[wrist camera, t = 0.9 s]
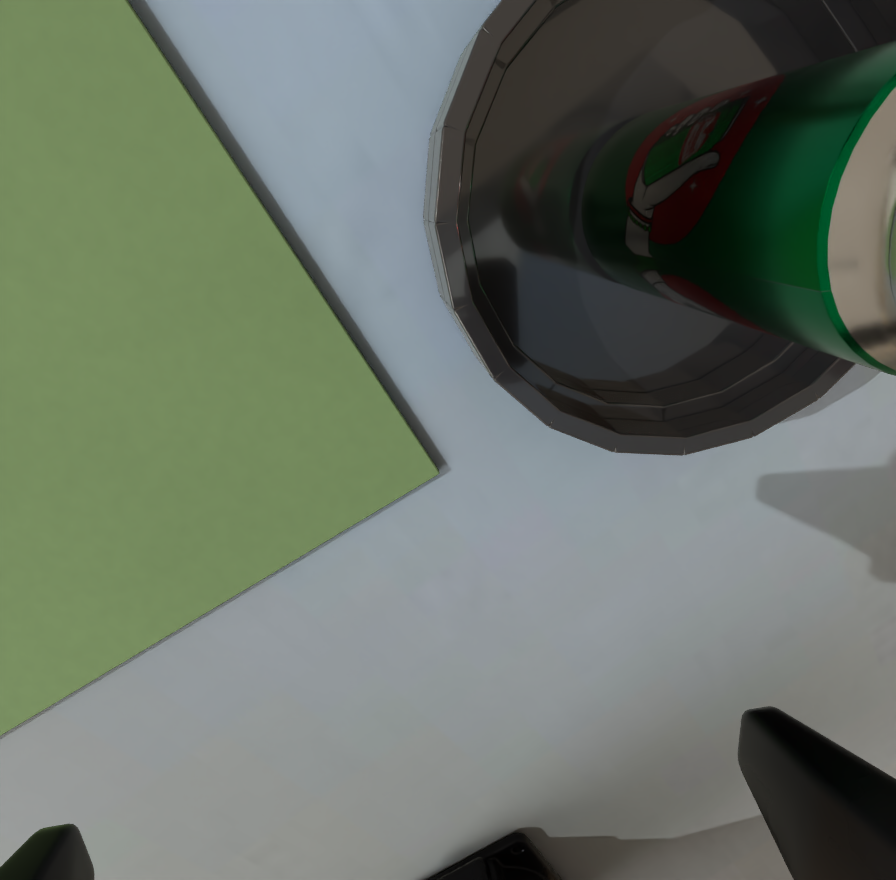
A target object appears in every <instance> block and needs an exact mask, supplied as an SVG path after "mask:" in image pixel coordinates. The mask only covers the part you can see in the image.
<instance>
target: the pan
mask: <svg viewBox="0 0 896 880" xmlns="http://www.w3.org/2000/svg"><path fill="white" fill-rule="evenodd" d="M892 41H896V0H501V2H500V3H499V4H498V5H497V7H496V8H495V9H494V10H493V12H492V13H491V14H490V16H489V17H488V18H487V19H486V21H485V22H484V23H483V24H482V26H481V27H480V29H479V30H478V31H477V33H476V34H475V35H474V37H473V38H472V39H471V41H470V42H469V44H468V45H467V46H466V48H465V49H464V51H463V53H462V54H461V56H460V58H459V61H458V63H457V66H456V69H455V71H454V74H453V76H452V79H451V81H450V84H449V87H448V89H447V92H446V94H445V97H444V100H443V102H442V105H441V107H440V110H439V113H438V115H437V118H436V120H435V123H434V125H433V128H432V131H431V133H430V138H429V148H428V161H427V174H426V186H425V199H424V211H423V219H424V227H425V231H426V236H427V241H428V245H429V250H430V254H431V259H432V263H433V268H434V272H435V277H436V281H437V286H438V291H439V293H440V297H441V299H442V300H443V302H444V304H445V305H446V307H447V309H448V311H449V312H450V314H451V316H452V317H453V319H454V321H455V322H456V324H457V326H458V328H459V329H460V331H461V333H462V334H463V336H464V338H465V340H466V341H467V343H468V345H469V346H470V348H471V350H472V352H473V353H474V355H475V356H476V358H477V359H478V360H479V362H480V363H481V364H482V365H483V367H484V368H485V369H486V371H487V372H488V373H489V375H490V376H491V377H492V378H493V380H494V381H495V382H496V383H497V384H499V385H500V386H501V387H502V388H503V389H504V390H506V391H507V392H508V393H509V394H510V395H511V396H512V397H514V398H515V399H516V400H517V401H518V402H519V403H521V404H522V405H523V406H524V407H525V408H526V409H528V410H529V411H530V412H531V413H532V414H533V415H535V416H536V417H537V418H538V419H539V420H540V421H542V422H543V423H544V424H545V425H546V426H549V427H550V428H552V429H554V430H557V431H559V432H562V433H565V434H567V435H570V436H572V437H575V438H577V439H580V440H583V441H585V442H588V443H590V444H593V445H595V446H598V447H601V448H603V449H606V450H608V451H611V452H615V453H637V454H660V455H687V454H691V453H695V452H699V451H703V450H706V449H710V448H714V447H718V446H722V445H726V444H729V443H733V442H737V441H741V440H745V439H749V438H752V437H753V436H756V435H758V434H760V433H762V432H763V431H765V430H767V429H769V428H770V427H772V426H774V425H775V424H777V423H779V422H781V421H782V420H784V419H786V418H788V417H789V416H791V415H793V414H795V413H796V412H798V411H800V410H801V409H803V408H805V407H807V406H808V405H810V404H812V403H814V402H815V401H817V400H818V398H821V397H822V396H823V395H824V394H825V393H826V392H827V391H828V390H829V389H830V388H831V387H832V386H833V385H834V384H835V383H836V382H838V381H839V380H840V379H841V378H842V377H843V376H844V375H845V374H846V373H847V372H848V371H849V370H850V369H851V368H852V367H853V366H854V365H855V364H856V363H854V362H851V361H848V360H845V359H842V358H839V357H836V356H833V355H830V354H827V353H824V352H821V351H818V350H815V349H812V348H809V347H806V346H803V345H800V344H797V343H794V342H791V341H788V340H785V339H782V338H779V337H776V336H773V335H770V334H767V333H764V332H761V331H758V330H755V329H752V328H749V327H746V326H743V325H740V324H737V323H734V322H731V321H728V320H725V319H722V318H719V317H716V316H713V315H710V314H707V313H704V312H701V311H698V310H695V309H692V308H689V307H686V306H683V305H680V304H677V303H674V302H671V301H668V300H665V299H662V298H659V297H656V296H653V295H650V294H647V293H644V292H641V291H638V290H635V289H632V288H629V287H627V286H625V285H623V284H621V283H619V282H617V281H616V280H614V279H613V278H612V277H610V276H609V275H608V274H607V273H606V272H605V271H604V270H603V269H602V268H601V267H600V266H599V265H598V263H597V262H596V260H595V259H594V257H593V256H592V254H591V252H590V249H589V247H588V245H587V242H586V239H585V236H584V232H583V226H582V218H581V207H582V197H583V190H584V186H585V182H586V179H587V176H588V173H589V171H590V168H591V166H592V164H593V162H594V160H595V158H596V157H597V155H598V153H599V152H600V150H601V149H602V147H603V146H604V145H605V144H606V142H607V141H608V140H609V139H610V138H611V137H612V135H613V134H615V133H616V132H617V131H618V130H619V129H620V128H622V127H623V126H624V125H625V124H627V123H628V122H630V121H632V120H633V119H635V118H636V117H638V116H641V115H643V114H646V113H648V112H650V111H654V110H657V109H661V108H664V107H668V106H671V105H675V104H678V103H681V102H685V101H688V100H692V99H695V98H699V97H702V96H706V95H709V94H713V93H716V92H719V91H723V90H726V89H730V88H733V87H737V86H740V85H744V84H747V83H750V82H754V81H757V80H761V79H764V78H768V77H771V76H775V75H778V74H782V73H785V72H788V71H792V70H795V69H799V68H802V67H806V66H809V65H813V64H816V63H820V62H823V61H826V60H830V59H833V58H837V57H840V56H844V55H847V54H851V53H854V52H858V51H861V50H864V49H868V48H871V47H875V46H878V45H882V44H885V43H889V42H892Z"/></svg>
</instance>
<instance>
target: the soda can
mask: <svg viewBox="0 0 896 880" xmlns="http://www.w3.org/2000/svg"><path fill="white" fill-rule="evenodd" d="M581 218H582V226H583V232H584V236H585V239H586V242H587V245H588V247H589V249H590V252H591V254H592V256H593V257H594V259H595V260H596V262H597V263H598V265H599V266H600V267H601V268H602V269H603V270H604V271H605V272H606V273H607V274H608V275H609V276H610V277H612V278H613V279H614V280H616V281H617V282H619V283H621V284H623V285H625V286H627V287H629V288H632V289H635V290H638V291H641V292H644V293H647V294H650V295H653V296H656V297H659V298H662V299H665V300H668V301H671V302H674V303H677V304H680V305H683V306H686V307H689V308H692V309H695V310H698V311H701V312H704V313H707V314H710V315H713V316H716V317H719V318H722V319H725V320H728V321H731V322H734V323H737V324H740V325H743V326H746V327H749V328H752V329H755V330H758V331H761V332H764V333H767V334H770V335H773V336H776V337H779V338H782V339H785V340H788V341H791V342H794V343H797V344H800V345H803V346H806V347H809V348H812V349H815V350H818V351H821V352H824V353H827V354H830V355H833V356H836V357H839V358H842V359H845V360H848V361H851V362H854V363H857V364H860V365H863V366H866V367H869V368H872V369H875V370H878V371H881V372H884V373H887V374H891V375H895V376H896V41H892V42H889V43H885V44H882V45H878V46H875V47H871V48H868V49H864V50H861V51H858V52H854V53H851V54H847V55H844V56H840V57H837V58H833V59H830V60H826V61H823V62H820V63H816V64H813V65H809V66H806V67H802V68H799V69H795V70H792V71H788V72H785V73H782V74H778V75H775V76H771V77H768V78H764V79H761V80H757V81H754V82H750V83H747V84H744V85H740V86H737V87H733V88H730V89H726V90H723V91H719V92H716V93H713V94H709V95H706V96H702V97H699V98H695V99H692V100H688V101H685V102H681V103H678V104H675V105H671V106H668V107H664V108H661V109H657V110H654V111H650V112H648V113H646V114H643V115H641V116H638V117H636V118H635V119H633V120H632V121H630V122H628V123H627V124H625V125H624V126H623V127H622V128H620V129H619V130H618V131H617V132H616V133H615V134H613V135H612V137H611V138H610V139H609V140H608V141H607V142H606V144H605V145H604V146H603V147H602V149H601V150H600V152H599V153H598V155H597V157H596V158H595V160H594V162H593V164H592V166H591V168H590V171H589V173H588V176H587V179H586V182H585V186H584V190H583V197H582V207H581Z"/></svg>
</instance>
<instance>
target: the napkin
mask: <svg viewBox="0 0 896 880" xmlns="http://www.w3.org/2000/svg"><path fill="white" fill-rule="evenodd" d="M438 474H439V470H438V468H437V467H436V465H435V464H434V462H433V461H432V459H431V458H430V456H429V455H428V453H427V452H426V450H425V449H424V447H423V446H422V444H421V443H420V441H419V440H418V438H417V436H416V435H415V433H414V432H413V430H412V429H411V427H410V426H409V424H408V423H407V421H406V420H405V418H404V417H403V415H402V414H401V412H400V411H399V409H398V408H397V406H396V405H395V403H394V402H393V400H392V399H391V397H390V396H389V394H388V393H387V391H386V390H385V388H384V387H383V385H382V384H381V382H380V381H379V379H378V378H377V376H376V375H375V373H374V372H373V370H372V369H371V367H370V365H369V364H368V362H367V361H366V359H365V358H364V356H363V355H362V353H361V352H360V350H359V349H358V347H357V346H356V344H355V343H354V341H353V340H352V338H351V337H350V335H349V334H348V332H347V331H346V329H345V328H344V326H343V325H342V323H341V322H340V320H339V319H338V317H337V316H336V314H335V313H334V311H333V310H332V308H331V307H330V305H329V304H328V302H327V301H326V299H325V297H324V296H323V294H322V293H321V291H320V290H319V288H318V287H317V285H316V284H315V282H314V281H313V279H312V278H311V276H310V275H309V273H308V272H307V270H306V269H305V267H304V266H303V264H302V263H301V261H300V260H299V258H298V257H297V255H296V254H295V252H294V251H293V249H292V248H291V246H290V245H289V243H288V242H287V240H286V239H285V237H284V236H283V234H282V233H281V231H280V230H279V228H278V226H277V225H276V223H275V222H274V220H273V219H272V217H271V216H270V214H269V213H268V211H267V210H266V208H265V207H264V205H263V204H262V202H261V201H260V199H259V198H258V196H257V195H256V193H255V192H254V190H253V189H252V187H251V186H250V184H249V183H248V181H247V180H246V178H245V177H244V175H243V174H242V172H241V171H240V169H239V168H238V166H237V165H236V163H235V162H234V160H233V158H232V157H231V155H230V154H229V152H228V151H227V149H226V148H225V146H224V145H223V143H222V142H221V140H220V139H219V137H218V136H217V134H216V133H215V131H214V130H213V128H212V127H211V125H210V124H209V122H208V121H207V119H206V118H205V116H204V115H203V113H202V112H201V110H200V109H199V107H198V106H197V104H196V103H195V101H194V100H193V98H192V97H191V95H190V94H189V92H188V91H187V89H186V87H185V86H184V84H183V83H182V81H181V80H180V78H179V77H178V75H177V74H176V72H175V71H174V69H173V68H172V66H171V65H170V63H169V62H168V60H167V59H166V57H165V56H164V54H163V53H162V51H161V50H160V48H159V47H158V45H157V44H156V42H155V41H154V39H153V38H152V36H151V35H150V33H149V32H148V30H147V29H146V27H145V26H144V24H143V23H142V21H141V20H140V18H139V16H138V15H137V13H136V12H135V10H134V9H133V7H132V6H131V4H130V3H129V1H128V0H0V736H1V735H2V734H4V733H6V732H7V731H9V730H11V729H12V728H14V727H16V726H17V725H19V724H21V723H22V722H24V721H26V720H27V719H29V718H31V717H32V716H34V715H36V714H37V713H39V712H41V711H42V710H44V709H46V708H48V707H49V706H51V705H53V704H54V703H56V702H58V701H59V700H61V699H63V698H64V697H66V696H68V695H69V694H71V693H73V692H74V691H76V690H78V689H79V688H81V687H83V686H84V685H86V684H88V683H89V682H91V681H93V680H94V679H96V678H98V677H99V676H101V675H103V674H105V673H106V672H108V671H110V670H111V669H113V668H115V667H116V666H118V665H120V664H121V663H123V662H125V661H126V660H128V659H130V658H131V657H133V656H135V655H136V654H138V653H140V652H141V651H143V650H145V649H146V648H148V647H150V646H151V645H153V644H155V643H156V642H158V641H160V640H162V639H163V638H165V637H167V636H168V635H170V634H172V633H173V632H175V631H177V630H178V629H180V628H182V627H183V626H185V625H187V624H188V623H190V622H192V621H193V620H195V619H197V618H198V617H200V616H202V615H203V614H205V613H207V612H208V611H210V610H212V609H213V608H215V607H217V606H219V605H220V604H222V603H224V602H225V601H227V600H229V599H230V598H232V597H234V596H235V595H237V594H239V593H240V592H242V591H244V590H245V589H247V588H249V587H250V586H252V585H254V584H255V583H257V582H259V581H260V580H262V579H264V578H265V577H267V576H269V575H270V574H272V573H274V572H276V571H277V570H279V569H281V568H282V567H284V566H286V565H287V564H289V563H291V562H292V561H294V560H296V559H297V558H299V557H301V556H302V555H304V554H306V553H307V552H309V551H311V550H312V549H314V548H316V547H317V546H319V545H321V544H322V543H324V542H326V541H327V540H329V539H331V538H333V537H334V536H336V535H338V534H339V533H341V532H343V531H344V530H346V529H348V528H349V527H351V526H353V525H354V524H356V523H358V522H359V521H361V520H363V519H364V518H366V517H368V516H369V515H371V514H373V513H374V512H376V511H378V510H379V509H381V508H383V507H384V506H386V505H388V504H390V503H391V502H393V501H395V500H396V499H398V498H400V497H401V496H403V495H405V494H406V493H408V492H410V491H411V490H413V489H415V488H416V487H418V486H420V485H421V484H423V483H425V482H426V481H428V480H430V479H431V478H433V477H435V476H436V475H438Z"/></svg>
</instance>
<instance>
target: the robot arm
mask: <svg viewBox="0 0 896 880" xmlns="http://www.w3.org/2000/svg"><path fill="white" fill-rule="evenodd" d="M738 761H739V765H740V768H741V771H742V773H743V775H744V777H745V780H746V782H747V784H748V786H749V788H750V790H751V792H752V794H753V796H754V798H755V800H756V802H757V805H758V807H759V809H760V811H761V813H762V815H763V817H764V819H765V821H766V823H767V825H768V827H769V830H770V832H771V834H772V836H773V838H774V840H775V842H776V844H777V846H778V848H779V850H780V853H781V855H782V857H783V859H784V861H785V863H786V865H787V867H788V869H789V871H790V873H791V875H792V877H793V879H794V880H896V779H895V778H893V777H891V776H890V775H888V774H886V773H885V772H883V771H881V770H880V769H878V768H876V767H875V766H873V765H871V764H870V763H868V762H866V761H865V760H863V759H861V758H860V757H858V756H856V755H855V754H853V753H851V752H850V751H848V750H846V749H845V748H843V747H841V746H840V745H838V744H836V743H835V742H833V741H831V740H830V739H828V738H826V737H824V736H823V735H821V734H819V733H818V732H816V731H814V730H813V729H811V728H809V727H808V726H806V725H804V724H803V723H801V722H799V721H798V720H796V719H794V718H793V717H791V716H789V715H788V714H786V713H784V712H783V711H781V710H779V709H777V708H775V707H770V706H768V707H761V708H756V709H750V710H747V711H745V712H744V714H743V715H742V719H741V728H740V737H739V746H738ZM0 880H94V868H93V864H92V862H91V859H90V856H89V854H88V851H87V849H86V846H85V844H84V841H83V839H82V836H81V834H80V831H79V829H78V827H76V826H75V825H73V824H64V825H58V826H52V827H47V828H43V829H40V830H39V831H37V832H36V833H34V834H33V835H32V836H31V837H30V838H29V839H28V840H27V841H26V842H25V843H24V844H23V845H22V846H21V847H20V848H19V849H18V850H17V851H16V852H15V853H14V854H13V855H12V856H11V857H10V858H9V859H8V860H7V861H6V862H5V863H4V864H3V865H2V866H1V867H0ZM429 880H562V879H561V878H560V877H559V876H558V874H557V873H556V872H555V871H554V869H553V868H552V867H551V866H550V865H549V863H548V862H547V861H546V860H545V859H544V857H543V856H542V855H541V854H540V852H539V851H538V850H537V849H536V848H535V846H534V845H533V844H532V843H531V841H530V840H529V839H528V838H527V837H526V836H525V835H524V834H522V833H514V834H512V835H510V836H508V837H506V838H504V839H502V840H500V841H498V842H497V843H495V844H493V845H491V846H489V847H487V848H486V849H484V850H482V851H480V852H478V853H476V854H475V855H473V856H471V857H469V858H467V859H465V860H464V861H462V862H460V863H458V864H456V865H454V866H452V867H451V868H449V869H447V870H445V871H443V872H441V873H440V874H438V875H436V876H434V877H432V878H430V879H429Z"/></svg>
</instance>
